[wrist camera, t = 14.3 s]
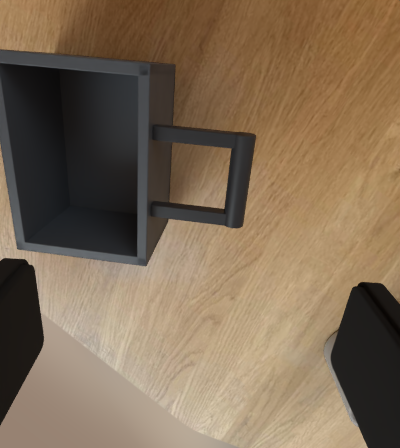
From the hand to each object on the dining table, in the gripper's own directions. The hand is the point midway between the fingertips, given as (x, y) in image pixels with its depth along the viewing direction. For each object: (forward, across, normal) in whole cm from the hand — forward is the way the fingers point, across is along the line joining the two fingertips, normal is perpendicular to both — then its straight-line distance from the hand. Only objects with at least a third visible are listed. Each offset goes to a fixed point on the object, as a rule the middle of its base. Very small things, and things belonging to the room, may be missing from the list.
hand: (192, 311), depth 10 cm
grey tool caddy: (+25, +4, +1) cm, 25 cm away
